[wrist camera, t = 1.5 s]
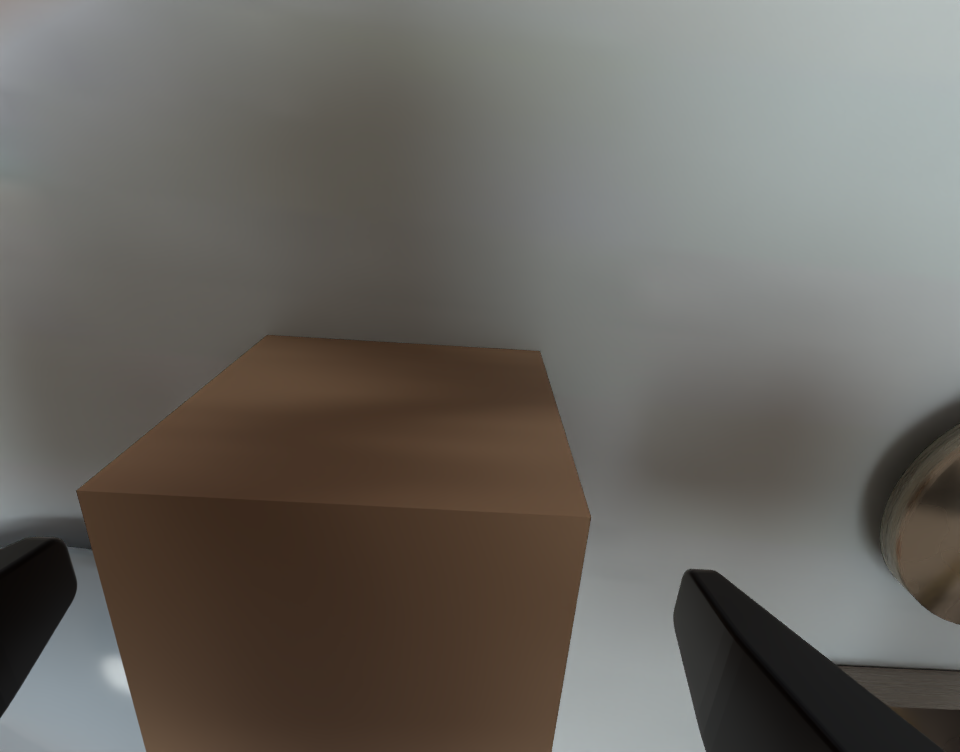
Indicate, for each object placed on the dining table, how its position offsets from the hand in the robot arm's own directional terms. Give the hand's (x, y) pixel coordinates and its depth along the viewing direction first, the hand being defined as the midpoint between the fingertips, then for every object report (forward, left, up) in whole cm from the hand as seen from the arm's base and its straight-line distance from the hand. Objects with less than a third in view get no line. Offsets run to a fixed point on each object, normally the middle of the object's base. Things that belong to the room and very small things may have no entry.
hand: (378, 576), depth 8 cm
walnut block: (0, 0, -3) cm, 3 cm away
